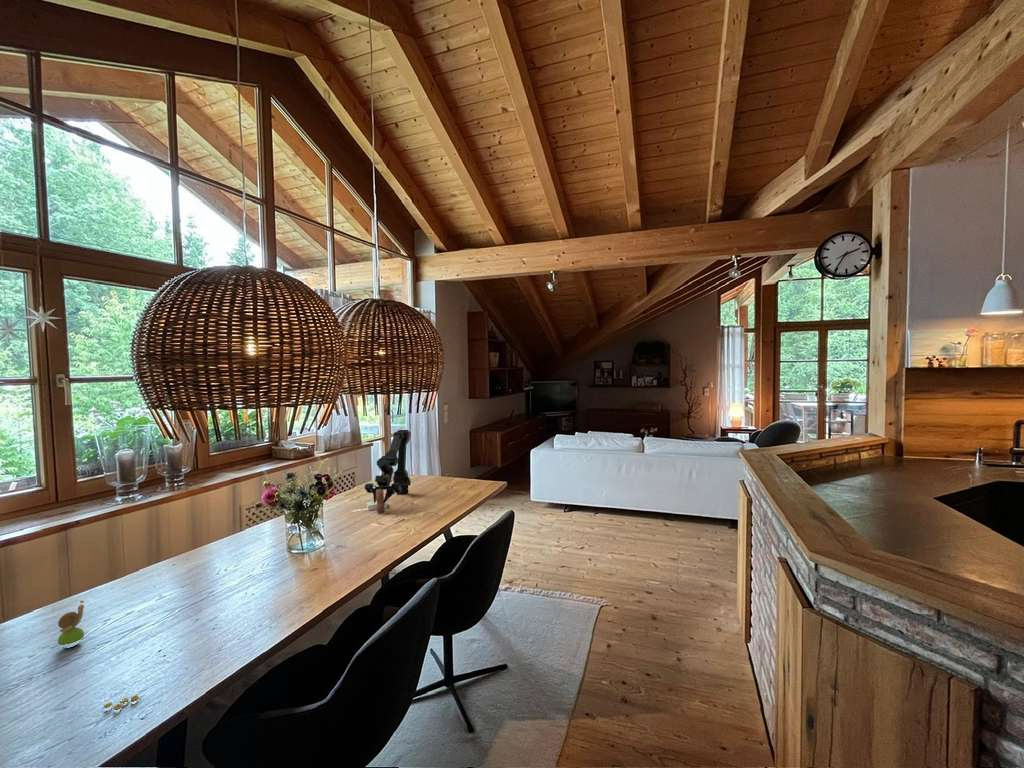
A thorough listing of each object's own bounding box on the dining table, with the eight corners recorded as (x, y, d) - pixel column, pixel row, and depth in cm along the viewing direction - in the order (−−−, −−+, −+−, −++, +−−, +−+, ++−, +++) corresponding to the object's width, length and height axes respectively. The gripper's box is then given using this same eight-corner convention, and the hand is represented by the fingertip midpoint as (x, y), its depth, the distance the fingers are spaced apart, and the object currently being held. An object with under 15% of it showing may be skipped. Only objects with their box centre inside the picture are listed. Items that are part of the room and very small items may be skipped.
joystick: (385, 513, 238) (384, 488, 237) (386, 515, 233) (385, 490, 232) (375, 514, 236) (374, 489, 235) (376, 517, 231) (375, 491, 230)
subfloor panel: (384, 501, 257) (384, 499, 257) (388, 510, 241) (388, 508, 241) (349, 506, 250) (349, 504, 250) (351, 516, 234) (351, 513, 234)
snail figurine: (93, 639, 133) (90, 601, 133) (67, 653, 127) (64, 613, 126) (79, 637, 135) (76, 599, 134) (53, 651, 128) (49, 611, 128)
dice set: (140, 703, 108) (139, 695, 108) (115, 719, 104) (114, 711, 104) (127, 698, 110) (127, 690, 110) (102, 713, 106) (101, 705, 105)
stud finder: (385, 504, 248) (385, 499, 248) (387, 507, 242) (386, 502, 242) (366, 507, 244) (366, 502, 244) (367, 510, 239) (367, 505, 238)
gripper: (364, 468, 238) (356, 495, 228) (398, 468, 236) (392, 495, 226) (371, 479, 246) (364, 505, 236) (404, 479, 244) (398, 505, 234)
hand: (379, 502), depth 233 cm, fingers open, 5 cm apart
